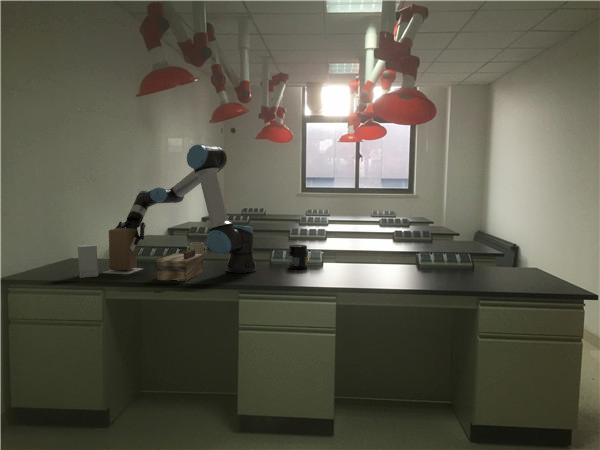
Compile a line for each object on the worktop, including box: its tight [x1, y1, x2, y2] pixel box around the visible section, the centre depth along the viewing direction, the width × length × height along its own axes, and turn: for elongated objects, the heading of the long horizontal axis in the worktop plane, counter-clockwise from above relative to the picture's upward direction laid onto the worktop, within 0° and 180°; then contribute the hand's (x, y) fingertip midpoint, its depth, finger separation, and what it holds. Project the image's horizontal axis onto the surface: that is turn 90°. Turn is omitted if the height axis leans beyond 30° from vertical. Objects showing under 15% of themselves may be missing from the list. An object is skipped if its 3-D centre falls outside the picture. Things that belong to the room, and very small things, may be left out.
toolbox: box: [156, 257, 204, 282], centre depth 218 cm, size 14×21×8 cm
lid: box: [155, 249, 204, 264], centre depth 217 cm, size 15×21×4 cm
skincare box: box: [77, 243, 99, 279], centre depth 215 cm, size 8×6×15 cm
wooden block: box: [108, 227, 138, 270], centre depth 228 cm, size 10×10×20 cm
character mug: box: [186, 241, 208, 255], centre depth 240 cm, size 11×7×13 cm, turn 85°
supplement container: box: [287, 244, 309, 271], centre depth 242 cm, size 10×10×12 cm
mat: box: [102, 267, 144, 275], centre depth 229 cm, size 14×14×1 cm
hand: (120, 249), depth 226 cm, fingers closed on wooden block, 10 cm apart
